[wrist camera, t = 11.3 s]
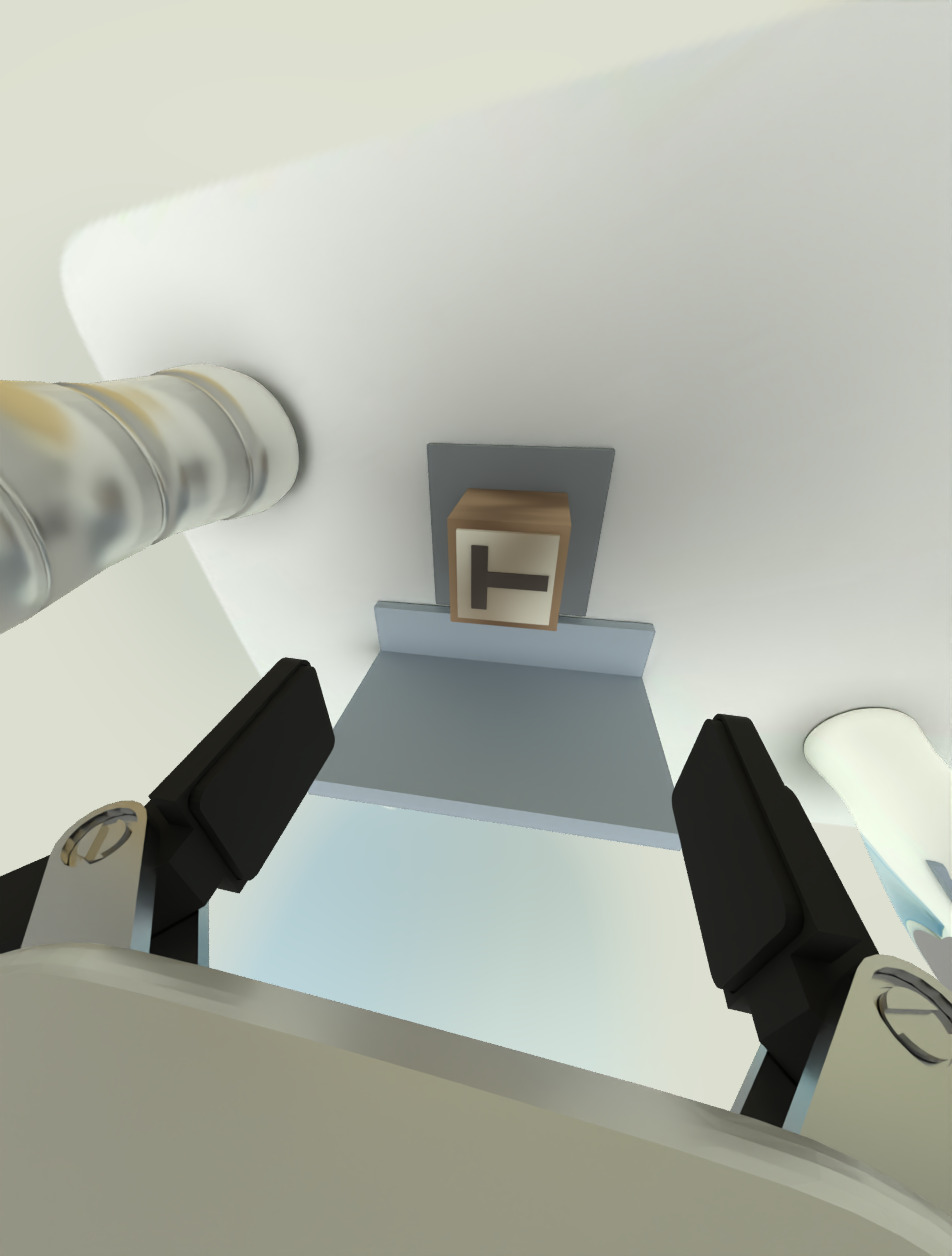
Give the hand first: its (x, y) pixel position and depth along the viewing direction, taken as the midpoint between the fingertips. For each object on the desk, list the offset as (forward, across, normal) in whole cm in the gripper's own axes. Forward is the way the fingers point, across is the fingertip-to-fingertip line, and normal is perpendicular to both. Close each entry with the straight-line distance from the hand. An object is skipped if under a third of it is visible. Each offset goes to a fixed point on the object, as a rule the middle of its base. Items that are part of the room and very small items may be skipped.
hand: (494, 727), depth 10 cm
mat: (+14, +1, 0) cm, 14 cm away
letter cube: (+14, +1, 0) cm, 14 cm away
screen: (+14, +1, +8) cm, 16 cm away
